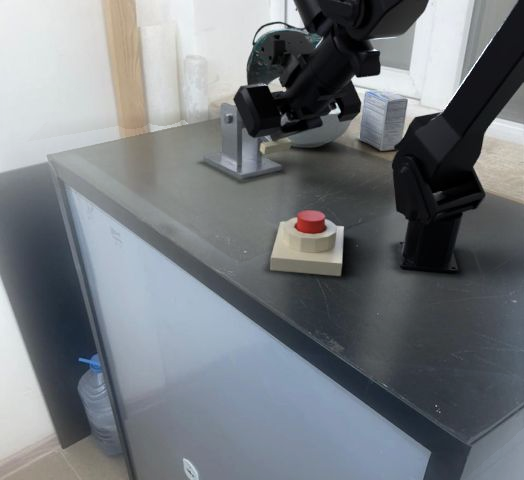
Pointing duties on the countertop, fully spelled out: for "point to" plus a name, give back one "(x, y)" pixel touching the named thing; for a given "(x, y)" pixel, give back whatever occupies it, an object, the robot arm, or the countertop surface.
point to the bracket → (239, 148)
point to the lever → (272, 144)
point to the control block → (308, 249)
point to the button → (310, 222)
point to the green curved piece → (256, 65)
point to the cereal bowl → (321, 131)
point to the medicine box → (383, 119)
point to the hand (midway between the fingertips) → (272, 137)
